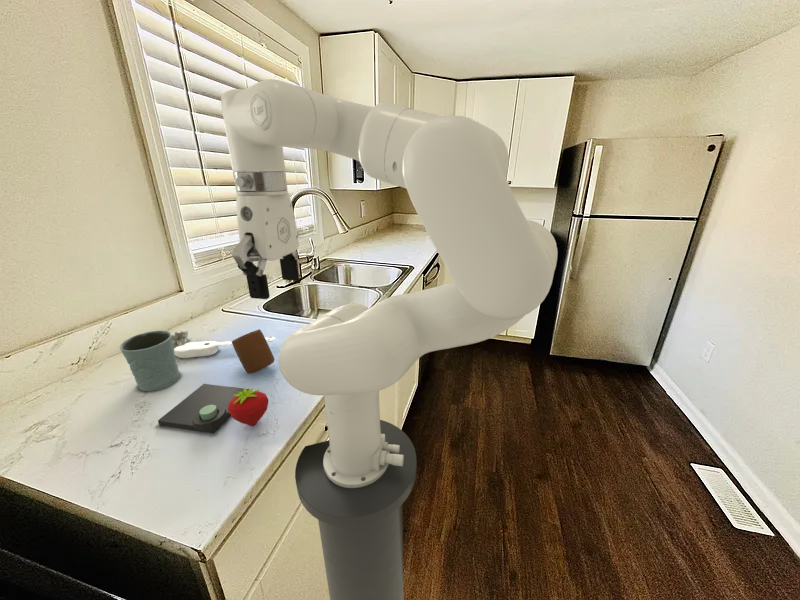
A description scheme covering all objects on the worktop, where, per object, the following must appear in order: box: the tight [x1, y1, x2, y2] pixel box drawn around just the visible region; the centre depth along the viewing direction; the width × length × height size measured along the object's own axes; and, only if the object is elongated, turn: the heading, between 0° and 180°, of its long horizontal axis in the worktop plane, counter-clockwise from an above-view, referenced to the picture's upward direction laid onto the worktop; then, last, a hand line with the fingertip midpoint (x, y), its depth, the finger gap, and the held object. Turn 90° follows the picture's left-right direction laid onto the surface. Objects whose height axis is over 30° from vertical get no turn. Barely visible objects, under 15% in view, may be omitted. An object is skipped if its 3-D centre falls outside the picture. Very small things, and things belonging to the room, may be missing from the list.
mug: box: [231, 328, 275, 375], centre depth 86 cm, size 12×8×9 cm, turn 51°
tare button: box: [199, 405, 218, 420], centre depth 66 cm, size 3×3×2 cm
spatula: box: [174, 336, 276, 359], centre depth 96 cm, size 28×6×3 cm, turn 99°
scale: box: [157, 383, 251, 435], centre depth 72 cm, size 14×14×3 cm
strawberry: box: [228, 387, 269, 427], centre depth 66 cm, size 6×8×10 cm
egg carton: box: [171, 330, 189, 348], centre depth 98 cm, size 11×8×4 cm
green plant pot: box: [119, 330, 180, 392], centre depth 80 cm, size 10×10×12 cm
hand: (276, 288), depth 57 cm, fingers open, 9 cm apart
